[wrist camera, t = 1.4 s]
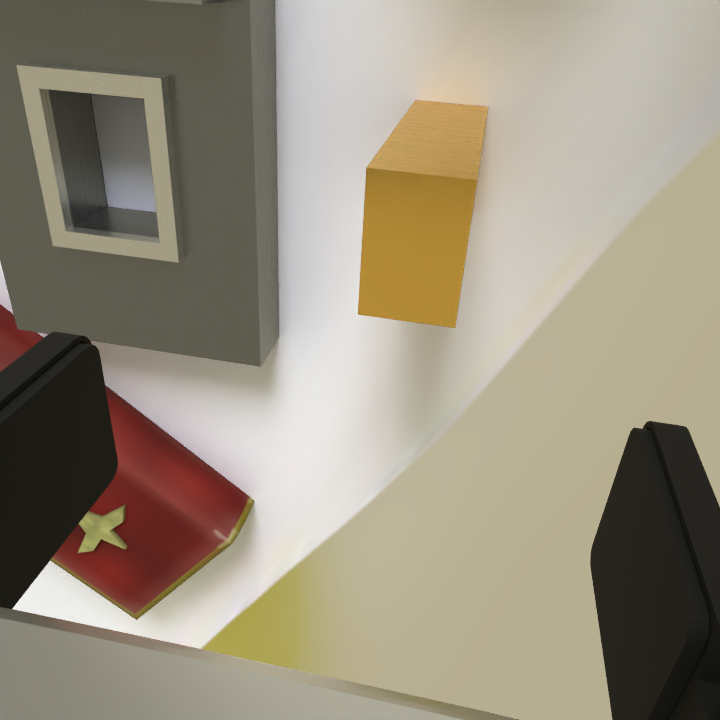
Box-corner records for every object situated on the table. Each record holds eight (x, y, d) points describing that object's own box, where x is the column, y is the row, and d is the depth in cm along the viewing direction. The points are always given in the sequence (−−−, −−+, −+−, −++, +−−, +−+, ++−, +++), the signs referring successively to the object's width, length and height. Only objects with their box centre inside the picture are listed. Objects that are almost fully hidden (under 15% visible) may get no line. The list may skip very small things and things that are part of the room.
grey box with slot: (-33, -92, 27) (-134, -103, 22) (273, -74, 25) (226, -83, 21) (51, 303, 36) (-9, 348, 32) (278, 337, 34) (246, 388, 30)
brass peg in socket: (415, 100, 27) (366, 167, 18) (488, 107, 27) (477, 179, 17) (405, 206, 29) (357, 314, 20) (472, 213, 29) (455, 327, 20)
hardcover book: (-31, 270, 37) (-89, 302, 33) (258, 494, 41) (234, 543, 38) (-96, 389, 43) (-151, 427, 39) (163, 574, 47) (134, 623, 43)
